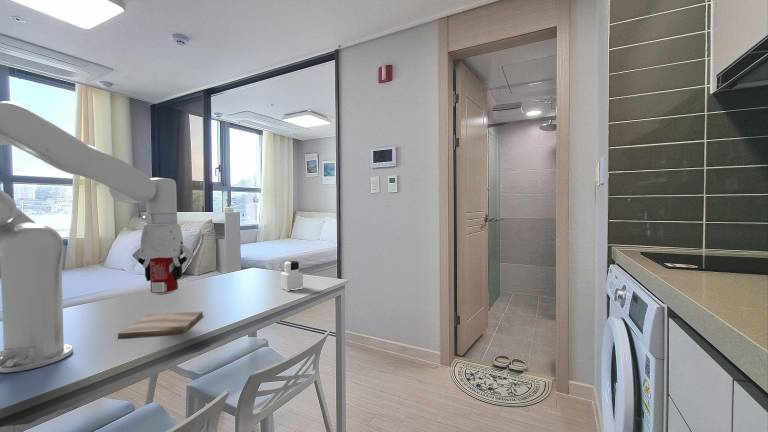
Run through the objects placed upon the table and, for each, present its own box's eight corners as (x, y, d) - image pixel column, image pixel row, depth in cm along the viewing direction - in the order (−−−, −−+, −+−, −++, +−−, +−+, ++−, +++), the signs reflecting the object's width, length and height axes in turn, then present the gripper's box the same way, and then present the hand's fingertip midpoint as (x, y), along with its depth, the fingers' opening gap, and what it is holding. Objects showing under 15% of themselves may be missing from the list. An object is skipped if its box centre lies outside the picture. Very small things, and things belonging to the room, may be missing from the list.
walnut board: (182, 333, 92) (182, 329, 92) (117, 337, 89) (117, 333, 89) (202, 315, 108) (202, 311, 108) (148, 318, 105) (148, 314, 105)
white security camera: (296, 286, 147) (295, 259, 147) (303, 289, 142) (302, 261, 141) (280, 288, 143) (280, 261, 142) (287, 292, 137) (287, 263, 137)
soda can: (164, 296, 94) (163, 254, 94) (145, 295, 96) (143, 254, 95) (183, 290, 101) (182, 251, 100) (164, 289, 102) (163, 251, 102)
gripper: (121, 220, 92) (123, 284, 93) (189, 220, 96) (190, 280, 96) (136, 219, 100) (138, 278, 100) (198, 219, 103) (200, 275, 103)
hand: (164, 279), depth 98 cm, fingers closed on soda can, 6 cm apart
